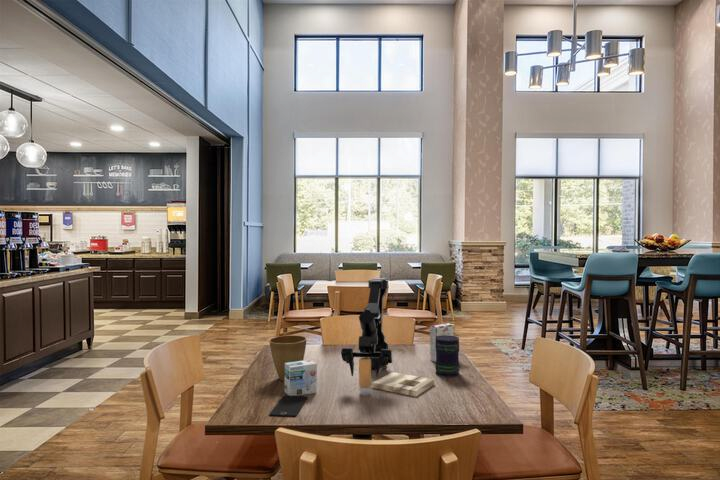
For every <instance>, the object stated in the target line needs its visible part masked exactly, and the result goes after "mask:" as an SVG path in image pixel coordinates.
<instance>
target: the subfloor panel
mask: <svg viewBox="0 0 720 480" xmlns="http://www.w3.org/2000/svg"><path fill="white" fill-rule="evenodd" d="M434 385H435V379H434V378H429V377H425V376H424V377H423V376H422V377H421V376H419V375H417V376H416V375H412V374H411V375H410V374H406V373H400V372H394V371H392V372H390V373H389V374H386V375H385V376H383V377H381V378H379V379H377V380H374V381H373V382H372V389H377V390H381V391H387V392H391V393H395V394H399V395H407V396H411V397H418V396H419V395H421V394H422V393H423V392H425V391H427V390H428V389H430V388H431V387H433V386H434Z"/></svg>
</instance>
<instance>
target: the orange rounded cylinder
mask: <svg viewBox="0 0 720 480" xmlns="http://www.w3.org/2000/svg"><path fill="white" fill-rule="evenodd" d="M358 386H359V395H361V396H362V397H364V396H365V397H366V396H370V395H371V392H372V391H371V386H372V369H371V359H370V358H364V357H359V358H358Z"/></svg>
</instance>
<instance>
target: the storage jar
mask: <svg viewBox="0 0 720 480" xmlns="http://www.w3.org/2000/svg"><path fill="white" fill-rule="evenodd" d="M435 347H436V348H435V349H436V362H435V363H434V364H435V375H436V376H439V377H442V378H456V377H459V375H460V359H459V352H460V338H459V337H458V336H455V335H454V336H447V335H444V336H437V337H436V343H435Z"/></svg>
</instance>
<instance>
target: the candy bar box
mask: <svg viewBox="0 0 720 480" xmlns="http://www.w3.org/2000/svg"><path fill="white" fill-rule="evenodd" d="M444 335H447V336H455V324H454V323H453V324H452V323H449V322H447V323H440V324H433V325H429V340H430V341H429V342H430V343H429V347H430V349H429V350H430V355H429V357H430V361H431V362H433V363H436V349H435V348H436V347H435V343H436V337H437V336H444Z"/></svg>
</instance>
